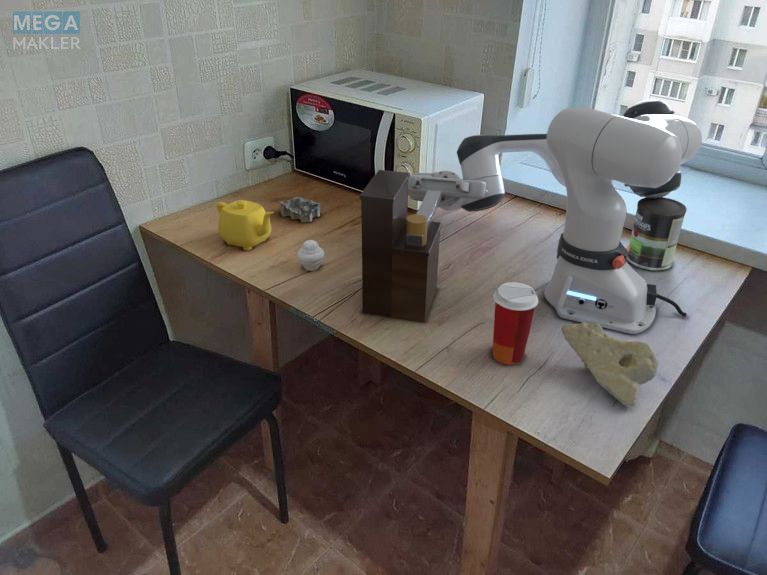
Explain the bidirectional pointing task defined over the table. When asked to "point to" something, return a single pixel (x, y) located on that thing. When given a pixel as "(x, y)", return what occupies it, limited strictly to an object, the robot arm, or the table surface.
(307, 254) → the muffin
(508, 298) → the paper cup
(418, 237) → the crank handle
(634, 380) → the cheese
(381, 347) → the table surface
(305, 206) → the egg carton
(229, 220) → the teapot
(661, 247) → the coffee can
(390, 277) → the step stand
